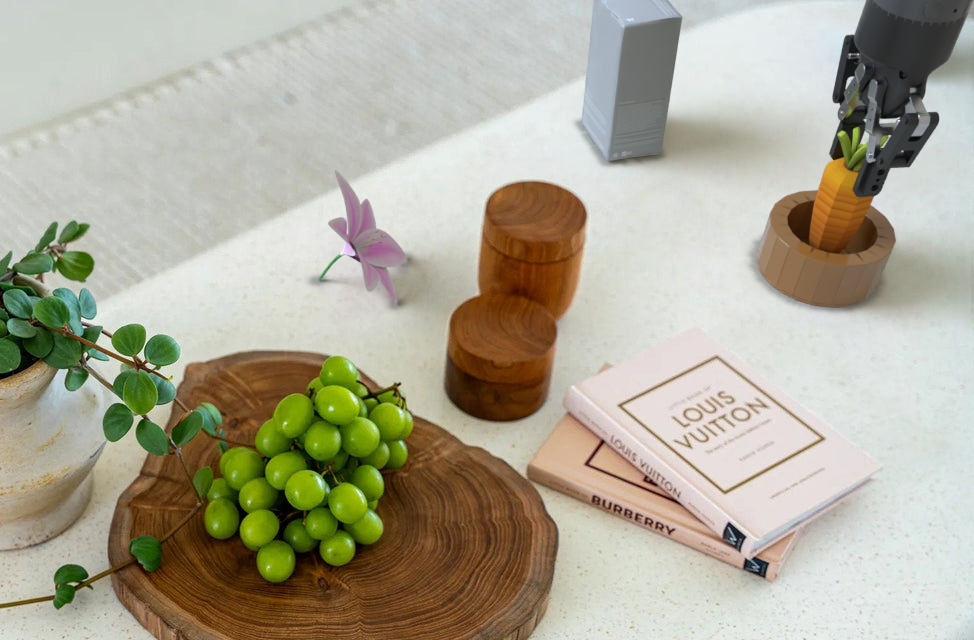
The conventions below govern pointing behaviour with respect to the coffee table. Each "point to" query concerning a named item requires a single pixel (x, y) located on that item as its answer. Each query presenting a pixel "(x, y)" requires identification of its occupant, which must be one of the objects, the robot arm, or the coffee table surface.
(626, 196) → the coffee table surface
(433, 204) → the coffee table surface
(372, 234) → the lily
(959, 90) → the coffee table surface
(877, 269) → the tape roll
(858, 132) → the carrot
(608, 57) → the cosmetic box
